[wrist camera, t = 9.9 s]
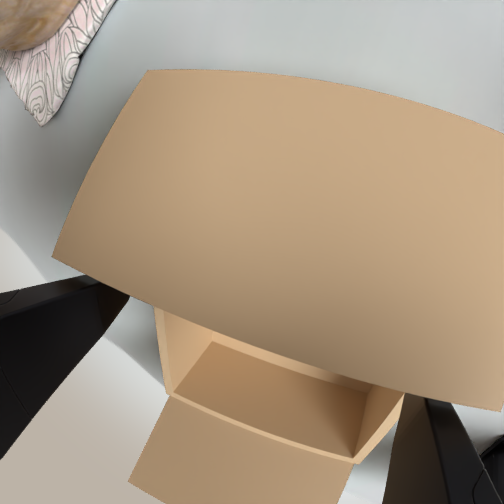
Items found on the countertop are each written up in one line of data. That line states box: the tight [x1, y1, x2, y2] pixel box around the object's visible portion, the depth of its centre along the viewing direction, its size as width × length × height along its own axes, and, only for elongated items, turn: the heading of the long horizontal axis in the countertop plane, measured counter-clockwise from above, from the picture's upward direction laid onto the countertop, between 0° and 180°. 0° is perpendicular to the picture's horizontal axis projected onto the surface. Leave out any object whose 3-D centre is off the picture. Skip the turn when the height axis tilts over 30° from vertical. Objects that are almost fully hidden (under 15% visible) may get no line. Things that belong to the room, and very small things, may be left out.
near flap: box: [52, 69, 504, 412], centre depth 7 cm, size 7×12×1 cm
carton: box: [154, 306, 405, 465], centre depth 15 cm, size 18×13×6 cm
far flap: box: [128, 396, 354, 504], centre depth 16 cm, size 7×12×1 cm
